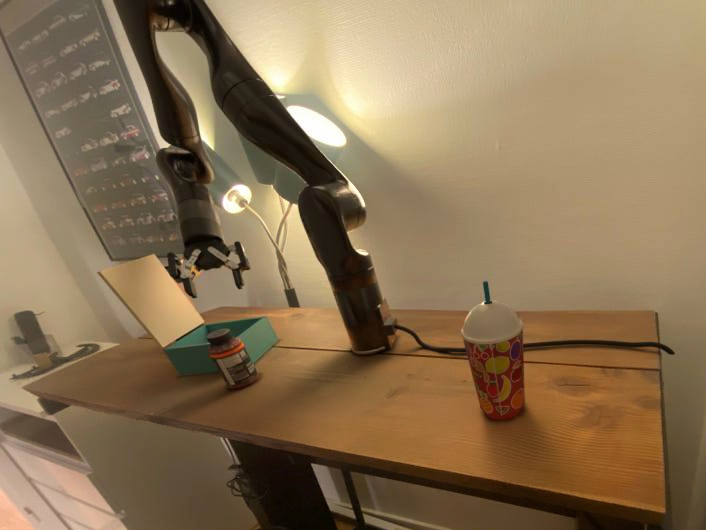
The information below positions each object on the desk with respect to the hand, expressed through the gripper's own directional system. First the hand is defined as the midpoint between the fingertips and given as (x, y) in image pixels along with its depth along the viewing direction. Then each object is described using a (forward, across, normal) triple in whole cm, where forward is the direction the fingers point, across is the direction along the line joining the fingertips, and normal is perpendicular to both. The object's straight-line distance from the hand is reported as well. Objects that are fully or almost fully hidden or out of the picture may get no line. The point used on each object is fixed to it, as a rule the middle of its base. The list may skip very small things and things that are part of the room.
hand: (216, 291), depth 78 cm
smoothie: (+45, +40, -27) cm, 66 cm away
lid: (-5, -13, +7) cm, 16 cm away
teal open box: (+9, -4, +15) cm, 18 cm away
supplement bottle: (+20, 0, +3) cm, 20 cm away
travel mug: (-4, -16, +30) cm, 34 cm away
